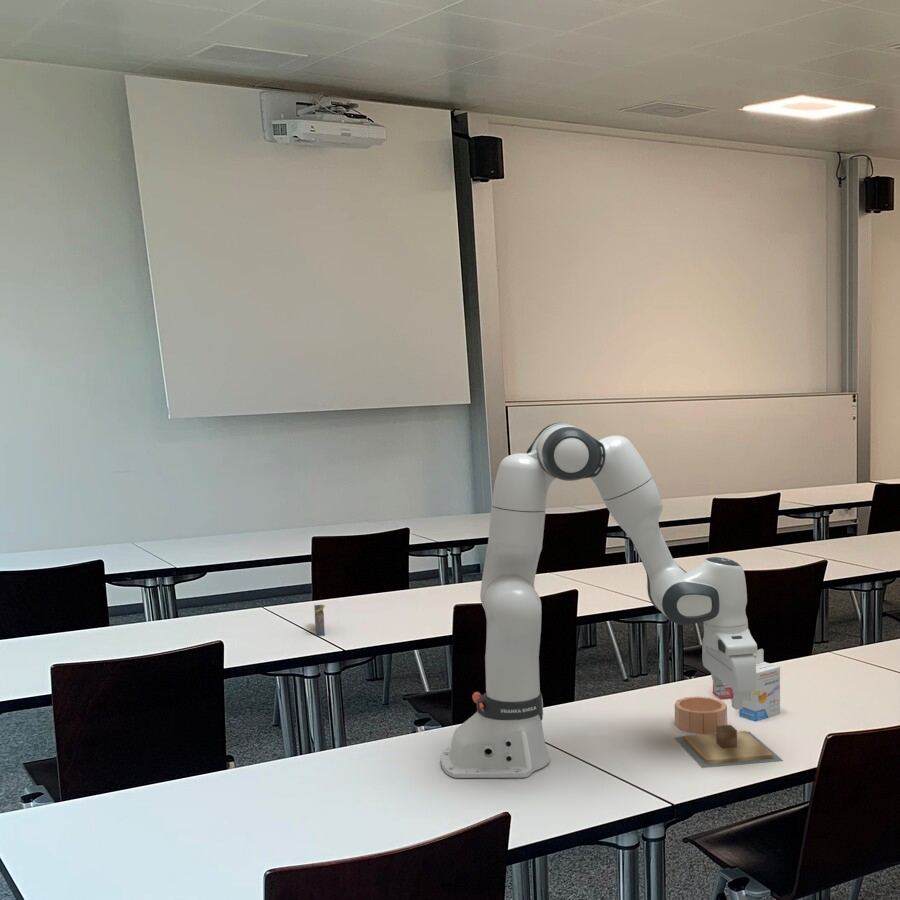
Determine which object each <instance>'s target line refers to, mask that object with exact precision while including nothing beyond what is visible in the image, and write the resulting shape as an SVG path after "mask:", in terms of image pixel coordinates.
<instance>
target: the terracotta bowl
mask: <svg viewBox="0 0 900 900" xmlns="http://www.w3.org/2000/svg"><path fill="white" fill-rule="evenodd" d="M674 725H675V726H676V727H677V728H678V729H679V730H682V731H685V732H688V733H694V734H712V733H716V726H725V725H728V704H727V703H726V702H724V701H723V700H722V699H718V698H714V697H712V696H711V697H709V696H698V695H696V696H685V697H682V698H679V699H677V700H676V701H675V703H674Z"/></svg>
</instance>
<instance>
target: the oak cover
mask: <svg viewBox="0 0 900 900" xmlns="http://www.w3.org/2000/svg"><path fill="white" fill-rule="evenodd" d="M747 732H748V731H747V730H741V731H740V730H739V731H737V728H735V727H734V726H733V725H731V724H727V725H725V726H716V733H705V734H704V733H703V734H702V733H698V734H691V735H690V734H689V735H682V737H683V740H684V741H685V742H686V743H687V744H688V745H689V746H690V747H691V749H692V750H693V751H694V752H695V753H696V754H697V755H698V756H699V757H700V758H701V759H702V760H703V761H704V762H705V763H706V764H715V763H727V762H739V761H751V760H764V759H773V754H772V753H771V752H769V751H768V750H767V749H766V748H765V747H764V746H762V745H761V744H760V743H759V742H758V741H757V740H755V739H754V738H753V737H752V736H751V735H750V734H749V733H747Z"/></svg>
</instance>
